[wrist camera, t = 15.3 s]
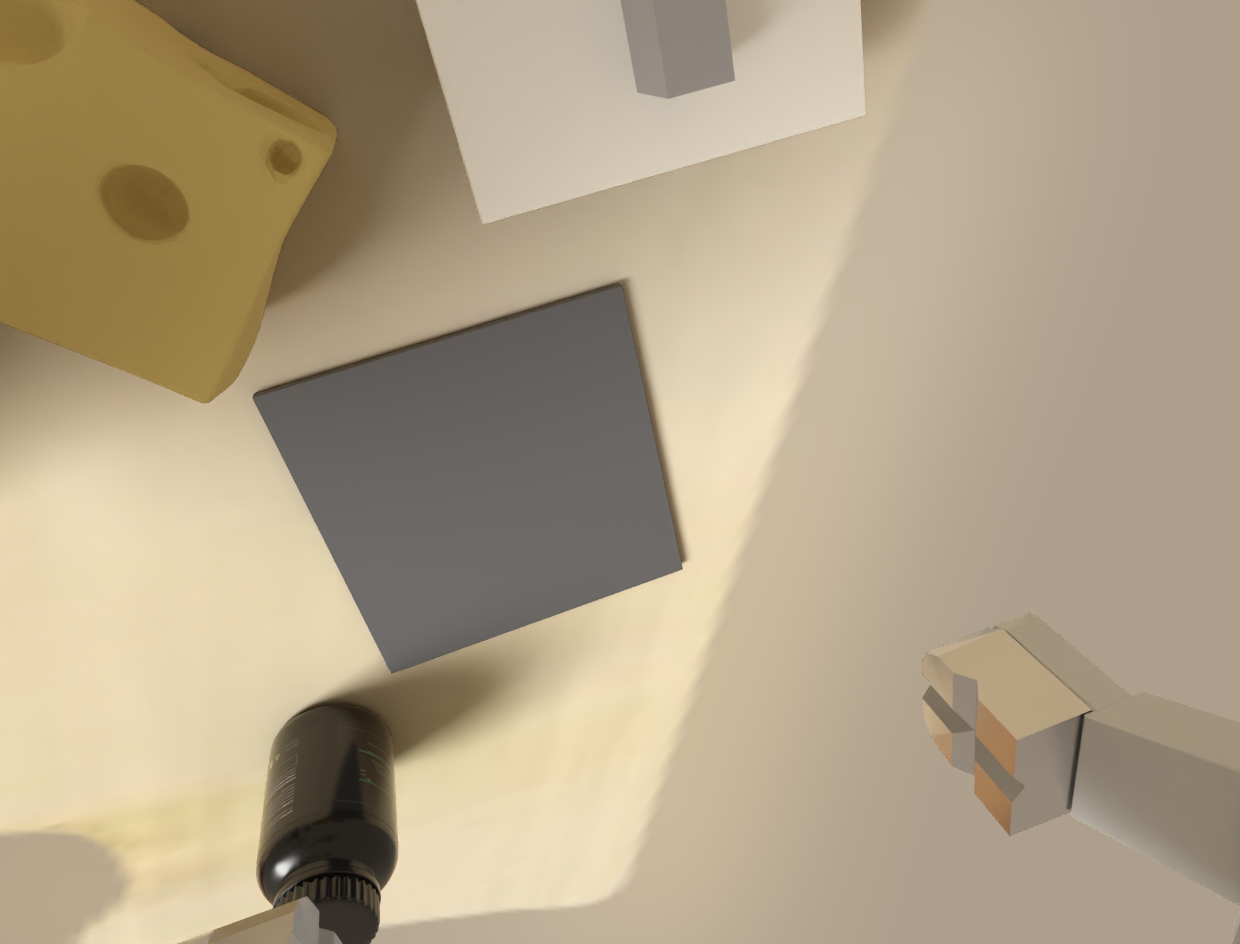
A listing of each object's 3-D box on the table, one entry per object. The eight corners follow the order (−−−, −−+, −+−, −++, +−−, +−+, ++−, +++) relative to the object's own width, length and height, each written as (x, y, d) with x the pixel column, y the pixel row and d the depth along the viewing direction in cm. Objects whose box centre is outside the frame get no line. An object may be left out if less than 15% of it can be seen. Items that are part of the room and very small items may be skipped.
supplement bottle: (294, 799, 49) (278, 998, 39) (252, 722, 46) (222, 918, 35) (406, 763, 50) (418, 947, 40) (373, 685, 47) (377, 865, 37)
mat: (391, 667, 46) (391, 673, 46) (254, 394, 37) (252, 398, 37) (679, 564, 49) (682, 569, 48) (618, 283, 40) (621, 285, 39)
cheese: (64, -53, 28) (-60, -91, 20) (355, 124, 33) (354, 154, 25) (-31, 209, 31) (-176, 273, 23) (251, 337, 36) (218, 428, 28)
